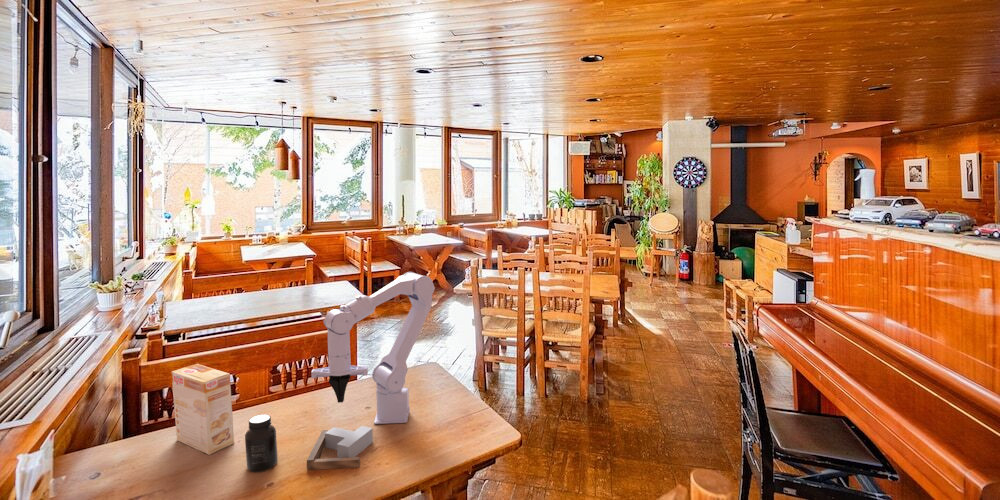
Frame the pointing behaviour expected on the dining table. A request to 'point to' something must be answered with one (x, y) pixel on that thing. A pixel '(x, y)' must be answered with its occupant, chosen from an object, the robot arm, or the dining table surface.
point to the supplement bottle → (261, 444)
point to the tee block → (348, 441)
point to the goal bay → (328, 463)
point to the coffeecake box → (203, 408)
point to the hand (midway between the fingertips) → (340, 400)
